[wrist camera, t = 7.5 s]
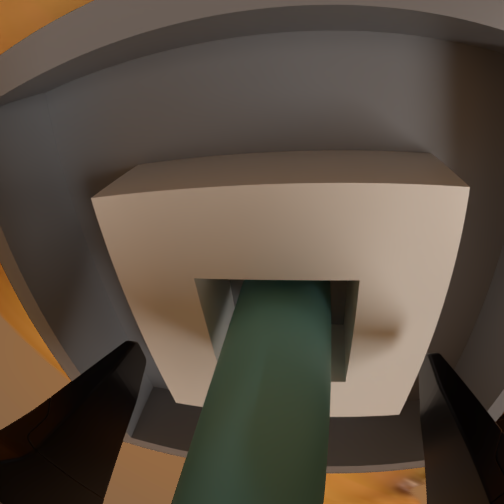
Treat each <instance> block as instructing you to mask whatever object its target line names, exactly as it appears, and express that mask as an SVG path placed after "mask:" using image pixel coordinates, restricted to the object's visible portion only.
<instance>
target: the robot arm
mask: <svg viewBox="0 0 504 504" xmlns="http://www.w3.org/2000/svg"><path fill="white" fill-rule="evenodd" d="M145 367H146V357H145V355H144V353H143V351H142V349H141V346H140V344H139V343H138V342H136V341H125V342H123V343H122V344H121V345H119V346H118V347H117V348H115V349H114V350H113V351H111V352H110V353H109V354H107V355H106V356H105V357H103V358H102V359H101V360H99V361H98V362H97V363H95V364H94V365H93V366H91V367H90V368H89V369H87V370H86V371H85V372H83V373H82V374H81V375H79V376H78V377H77V378H75V379H74V380H73V381H71V382H70V383H69V384H67V385H66V386H65V387H63V388H62V389H61V390H60V391H58V392H57V393H56V394H54V395H53V396H52V397H51V398H49V399H47V400H46V401H45V402H44V403H42V404H41V405H39V406H38V407H36V408H35V409H34V410H32V411H31V412H29V413H28V414H26V415H24V416H23V417H21V418H20V419H18V420H16V421H15V422H13V423H11V424H10V425H8V426H6V427H5V428H3V429H1V430H0V504H103V501H104V497H105V494H106V491H107V487H108V485H109V481H110V478H111V475H112V472H113V469H114V466H115V463H116V460H117V457H118V454H119V451H120V448H121V445H122V442H123V439H124V436H125V434H126V431H127V428H128V425H129V422H130V419H131V417H132V414H133V411H134V408H135V405H136V402H137V399H138V395H139V391H140V387H141V383H142V379H143V375H144V371H145ZM419 394H420V423H421V432H422V441H423V451H424V462H425V475H426V489H427V490H426V491H427V504H504V416H501V417H499V418H498V420H497V421H496V422H495V421H494V419H493V418H492V417H491V415H490V414H489V413H488V412H487V410H486V409H485V408H484V406H483V405H482V404H481V403H480V401H479V400H478V399H477V398H476V396H475V395H474V394H473V393H472V391H471V390H470V389H469V388H468V386H467V385H466V384H465V383H464V381H463V380H462V379H461V378H460V377H459V375H458V374H457V373H456V372H455V370H454V369H453V368H452V367H451V366H450V364H449V363H448V362H447V361H446V360H445V359H444V357H443V356H442V355H441V354H440V353H428V354H426V356H425V358H424V360H423V363H422V365H421V368H420V371H419Z"/></svg>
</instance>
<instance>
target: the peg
mask: <svg viewBox="0 0 504 504" xmlns="http://www.w3.org/2000/svg"><path fill="white" fill-rule="evenodd" d="M330 396H331V286H330V280H244V281H243V284H242V287H241V290H240V293H239V296H238V300H237V303H236V306H235V309H234V312H233V315H232V318H231V321H230V324H229V327H228V330H227V334H226V337H225V340H224V343H223V346H222V349H221V352H220V355H219V358H218V361H217V364H216V367H215V370H214V374H213V377H212V380H211V383H210V386H209V389H208V392H207V395H206V398H205V401H204V404H203V407H202V411H201V414H200V417H199V420H198V423H197V426H196V429H195V432H194V435H193V438H192V441H191V444H190V447H189V451H188V454H187V457H186V460H185V463H184V466H183V469H182V472H181V475H180V478H179V481H178V484H177V487H176V491H175V494H174V497H173V500H172V503H171V504H323V502H324V492H325V481H326V469H327V455H328V440H329V421H330Z"/></svg>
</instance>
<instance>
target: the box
mask: <svg viewBox="0 0 504 504" xmlns="http://www.w3.org/2000/svg"><path fill="white" fill-rule="evenodd" d="M0 263H1V265H2V267H3V269H4V271H5V273H6V275H7V277H8V279H9V281H10V283H11V285H12V287H13V289H14V291H15V293H16V294H17V296H18V298H19V300H20V302H21V304H22V305H23V307H24V309H25V311H26V312H27V314H28V316H29V318H30V319H31V321H32V323H33V324H34V326H35V328H36V329H37V331H38V332H39V334H40V336H41V337H42V339H43V340H44V342H45V343H46V345H47V346H48V348H49V349H50V351H51V352H52V354H53V355H54V357H55V358H56V360H57V361H58V363H59V364H60V365H61V367H62V368H63V370H64V371H65V372H66V374H67V375H68V377H69V378H70V379H71V381H73V380H74V379H75V378H77V377H78V376H79V375H81V374H82V373H83V372H85V371H86V370H87V369H89V368H90V367H91V366H93V365H94V364H95V363H97V362H98V361H99V360H101V359H102V358H103V357H105V356H106V355H107V354H109V353H110V352H111V351H113V350H114V349H115V348H117V347H118V346H119V345H121V344H122V343H123V342H125V341H136V342H138V343H139V344H140V346H141V349H142V351H143V353H144V355H145V357H146V367H145V371H144V375H143V379H142V383H141V387H140V391H139V395H138V399H137V402H136V405H135V408H134V411H133V414H132V417H131V419H130V422H129V425H128V428H127V431H126V434H125V436H124V439H123V442H127V443H130V444H133V445H137V446H140V447H144V448H147V449H151V450H155V451H159V452H163V453H167V454H171V455H176V456H180V457H184V458H186V457H187V454H188V451H189V447H190V444H191V441H192V438H193V435H194V432H195V429H196V426H197V423H198V420H199V417H200V414H201V411H202V407H203V404H204V401H205V398H206V395H207V392H208V389H209V386H210V383H211V380H212V377H213V374H214V370H215V367H216V364H217V361H218V358H219V355H220V352H221V349H222V346H223V343H224V340H225V337H226V334H227V330H228V327H229V324H230V321H231V318H232V315H233V312H234V309H235V306H236V303H237V300H238V296H239V293H240V290H241V287H242V284H243V281H244V280H330V286H331V396H330V421H329V440H328V455H327V469H326V473H365V472H382V471H394V470H404V469H412V468H420V467H425V462H424V451H423V441H422V432H421V423H420V394H419V371H420V368H421V365H422V363H423V360H424V358H425V356H426V354H428V353H440V354H441V355H442V356H443V357H444V359H445V360H446V361H447V362H448V363H449V364H450V366H451V367H452V368H453V369H454V370H455V372H456V373H457V374H458V375H459V377H460V378H461V379H462V380H463V381H464V383H465V384H466V385H467V386H468V388H469V389H470V390H471V391H472V393H473V394H474V395H475V396H476V398H477V399H478V400H479V401H480V403H481V404H482V405H483V406H484V408H485V409H486V410H487V412H488V413H489V414H490V415H491V417H492V418H493V419H494V421H495V422H496V421H497V420H498V418H499V417H500V416H501V415H502V414H503V412H504V0H94V1H92V2H90V3H88V4H86V5H84V6H82V7H80V8H78V9H76V10H74V11H72V12H70V13H68V14H66V15H64V16H62V17H60V18H58V19H57V20H55V21H53V22H51V23H49V24H48V25H46V26H44V27H43V28H41V29H39V30H37V31H36V32H34V33H33V34H31V35H29V36H28V37H26V38H25V39H23V40H22V41H20V42H19V43H17V44H16V45H14V46H13V47H11V48H10V49H8V50H7V51H5V52H4V53H3V54H1V55H0Z"/></svg>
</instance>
